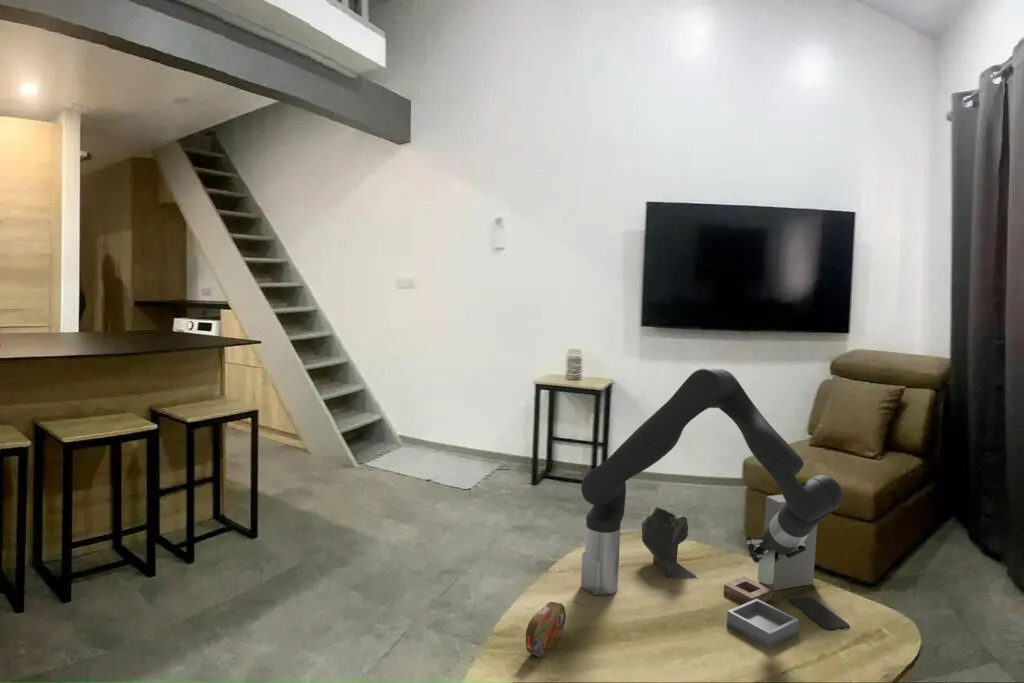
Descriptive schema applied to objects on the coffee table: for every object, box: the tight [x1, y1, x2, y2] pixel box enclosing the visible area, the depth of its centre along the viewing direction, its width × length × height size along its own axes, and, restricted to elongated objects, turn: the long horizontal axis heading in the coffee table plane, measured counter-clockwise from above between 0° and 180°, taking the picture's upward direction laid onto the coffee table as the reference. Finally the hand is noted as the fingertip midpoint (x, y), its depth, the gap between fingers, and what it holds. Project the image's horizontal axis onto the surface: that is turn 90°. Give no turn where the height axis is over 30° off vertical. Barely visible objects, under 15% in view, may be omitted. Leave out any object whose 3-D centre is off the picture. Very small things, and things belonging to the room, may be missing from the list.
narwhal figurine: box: [641, 506, 698, 579], centre depth 181 cm, size 14×15×18 cm
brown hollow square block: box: [723, 576, 773, 604], centre depth 165 cm, size 9×9×2 cm
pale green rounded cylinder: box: [757, 552, 775, 585], centre depth 148 cm, size 4×4×10 cm
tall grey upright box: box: [762, 494, 818, 592], centre depth 172 cm, size 14×6×25 cm, turn 108°
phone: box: [788, 596, 850, 631], centre depth 157 cm, size 7×1×15 cm
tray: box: [726, 599, 800, 649], centre depth 149 cm, size 12×12×4 cm
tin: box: [525, 601, 567, 658], centre depth 140 cm, size 15×3×8 cm, turn 148°
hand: (763, 558), depth 150 cm, fingers closed on pale green rounded cylinder, 3 cm apart
